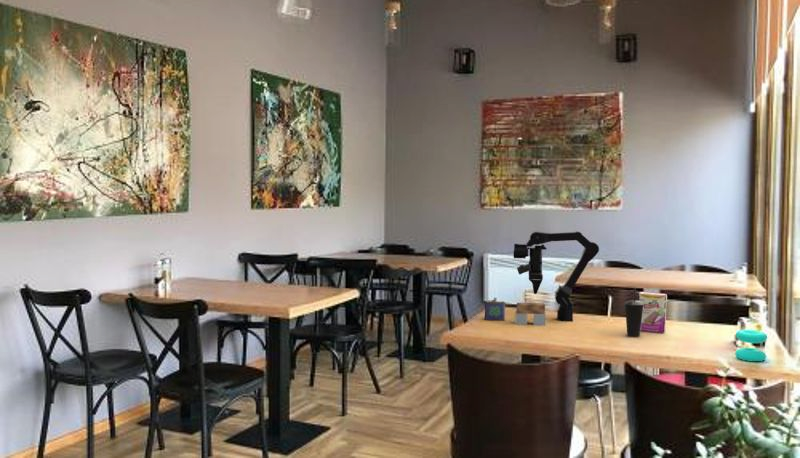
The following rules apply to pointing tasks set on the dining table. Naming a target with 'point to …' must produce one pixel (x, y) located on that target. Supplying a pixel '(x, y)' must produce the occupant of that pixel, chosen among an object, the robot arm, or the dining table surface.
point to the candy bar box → (653, 312)
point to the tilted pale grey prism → (521, 318)
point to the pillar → (539, 319)
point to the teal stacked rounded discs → (751, 337)
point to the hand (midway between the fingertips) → (535, 292)
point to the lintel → (531, 308)
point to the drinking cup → (633, 316)
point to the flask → (494, 310)
